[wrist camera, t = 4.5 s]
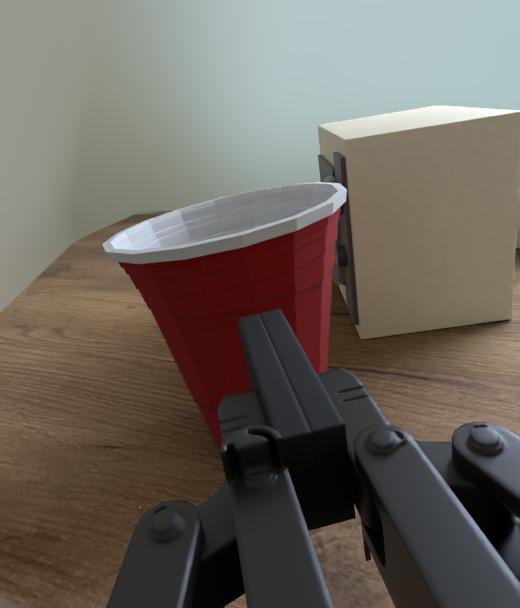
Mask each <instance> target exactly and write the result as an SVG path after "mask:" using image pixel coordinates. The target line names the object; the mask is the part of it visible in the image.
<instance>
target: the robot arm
mask: <svg viewBox="0 0 520 608" xmlns="http://www.w3.org/2000/svg"><path fill="white" fill-rule="evenodd" d="M237 320H238V325H239V330H240V335H241V340H242V346H243V351H244V356H245V361H246V366H247V371H248V376H249V381H250V386H251V391H247V392H243V393H238V394H234V395H230V396H226V397H223V398H222V400H221V402H220V405H219V407H218V409H217V410H218V416H219V422H220V429H221V435H222V441H223V443H222V444H221V451H220V454H221V458H222V462H223V466H224V470H225V474H226V480H225V483H224V484H223V486H222V487H221V489H220V490H219V491H218V492H217V493H216V494H215V495H214V496H212V497H211V498H209V499H208V500H206V501H205V502H203V503H201V504H199V505H197V506H194V505H193V504H191V503H189V502H187V501H183V500H171V501H166V502H162V503H160V504H158V505H156V506H154V507H153V508H151V509H150V510H148V511H147V512H146V513H145V514H144V515H143V516H142V517H141V518H140V520H139V522H138V523H137V525H136V527H135V529H134V532H133V535H132V538H131V540H130V543H129V546H128V549H127V551H126V554H125V557H124V560H123V563H122V565H121V568H120V571H119V574H118V576H117V579H116V582H115V585H114V587H113V590H112V593H111V596H110V599H109V601H108V604H107V607H106V608H224V606H226V605H228V604H229V603H231V602H232V601H234V600H235V599H237V598H238V597H240V596H241V595H243V594H244V593H245V595H246V601H247V607H248V608H334V606H333V603H332V600H331V597H330V594H329V591H328V588H327V585H326V582H325V579H324V576H323V573H322V570H321V567H320V564H319V561H318V558H317V555H316V552H315V549H314V546H313V543H312V540H311V537H310V534H309V530H313V529H316V528H320V527H324V526H328V525H331V524H335V523H339V522H343V521H346V520H350V519H354V518H355V509H354V504H355V506H356V508H357V510H358V512H359V514H360V517H361V523H362V533H363V543H364V552H365V557H366V561H368V560H371V555H370V552H371V554H372V556H373V558H374V561H375V563H376V565H377V567H378V569H379V572H380V574H381V576H382V578H383V581H384V583H385V585H386V587H387V589H388V592H389V594H390V596H391V598H392V600H393V603H394V605H395V607H396V608H520V437H519V436H517V435H516V434H514V433H513V432H511V431H509V430H508V429H505V428H503V427H501V426H499V425H496V424H491V423H486V422H472V423H468V424H465V425H462V426H460V427H459V428H458V429H456V430H455V431H454V434H453V436H452V442H423V441H417V440H414V439H413V437H412V436H411V435H410V434H408V433H407V432H406V431H405V430H403V429H401V428H399V427H396V426H392V425H391V424H390V423H389V421H388V420H387V418H386V417H385V416H384V414H383V413H382V411H381V410H380V408H379V407H378V406H377V404H376V403H375V401H374V400H373V399H372V397H371V396H370V395H369V393H368V391H367V390H366V389H365V387H363V384H362V383H361V382H360V380H359V379H358V377H357V376H356V375H355V374H353V373H351V372H349V371H348V370H346V369H344V368H340V369H335V370H331V371H327V372H323V373H318V374H317V373H316V371H315V370H314V368H313V366H312V364H311V362H310V361H309V359H308V357H307V355H306V353H305V352H304V350H303V348H302V346H301V345H300V343H299V341H298V339H297V337H296V336H295V334H294V332H293V330H292V328H291V327H290V325H289V323H288V321H287V320H286V318H285V316H284V314H283V312H282V311H281V309H278V310H274V311H269V312H265V313H260V314H256V315H251V316H247V317H242V318H237Z"/></svg>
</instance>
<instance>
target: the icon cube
mask: <svg viewBox="0 0 520 608" xmlns="http://www.w3.org/2000/svg"><path fill="white" fill-rule="evenodd" d="M516 248H520V180H519V198H518V215H517V233H516Z"/></svg>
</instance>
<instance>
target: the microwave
mask: <svg viewBox="0 0 520 608" xmlns="http://www.w3.org/2000/svg"><path fill="white" fill-rule="evenodd" d="M318 133H319V143H320V153H321V155H318V159H319V169H320V179H321V182H326V183H340V184H341V185H342V186H343V187H344V188H346V189H347V195H346V202H345V203H344V204H343V205H342V206H341V207H340V208H341V212H340V213H339V221H338V222H337V240H336V241H335V264H334V266H333V279H334V282H335V283H336V284H337V285H339V287H340V290H341V292H342V295H343V297H344V300H345V302H346V304H347V308H348V310H349V313H350V315H351V318H352V320H353V323H354V325H355V326H356V329H357V331H358V334H359V336H360V338H361V340H362V339H369V338H377V337H384V336H391V335H399V334H406V333H413V332H421V331H428V330H435V329H443V328H450V327H457V326H465V325H472V324H479V323H487V322H494V321H501V320H509V319H512V304H513V286H514V269H515V251H516V233H517V215H518V198H519V180H520V111H518V110H503V109H487V108H472V107H457V106H442V105H437V106H431V107H424V108H418V109H412V110H406V111H400V112H394V113H388V114H382V115H376V116H370V117H364V118H357V119H352V120H345V121H339V122H333V123H327V124H321V125H318Z"/></svg>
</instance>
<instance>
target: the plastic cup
mask: <svg viewBox="0 0 520 608" xmlns="http://www.w3.org/2000/svg"><path fill="white" fill-rule="evenodd" d="M346 195H347V189H346V188H344V187H343V186H342V185H341V184H340V183H326V182H313V183H303V184H291V185H283V186H277V187H271V188H265V189H260V190H254V191H249V192H244V193H240V194H235V195H231V196H226V197H222V198H218V199H213V200H210V201H206V202H203V203H199V204H196V205H192V206H188V207H185V208H182V209H178V210H175V211H172V212H169V213H166V214H163V215H160V216H157V217H154V218H151V219H149V220H146V221H143V222H141V223H138V224H136V225H134V226H132V227H130V228H127V229H125V230H123V231H121V232H119V233H116V234H115V235H114V236H113V237H111V238H110V239H109V240H107V241H106V242H105V243H103V244H102V245H103V247H104V249H105V251H106V253H107V254H108V256H109V257H110V258H111V260H112V261H115V262H119V264H120V266H121V267H122V268H124V270H125V272H126V273H127V274H128V275H129V276H130V278H131V280H132V281H133V283H134V285H135V287H136V289H139V291H140V293H141V295H142V297H143V299H144V301H145V303H146V304H147V306H148V308H149V309H150V310H151V312H152V314H153V316H154V318H155V320H156V322H157V324H158V326H159V328H160V330H161V333H162V335H163V337H164V339H165V341H166V343H167V345H168V347H169V349H170V352H171V354H172V356H173V358H174V360H175V362H176V364H177V366H178V368H179V370H180V373H181V375H182V377H183V379H184V381H185V383H186V385H187V387H188V389H189V391H190V393H191V395H192V397H193V399H194V401H195V402H196V403H197V405H198V407H199V409H200V411H201V414H202V416H203V418H204V420H205V423H206V425H207V427H208V429H209V431H210V433H211V435H212V437H213V439H214V441H215V442H216V443H218V445H219V447H220V449H221V444H222V443H223V441H222V435H221V429H220V422H219V416H218V410H217V409H218V407H219V405H220V402H221V400H222V398H223V397H226V396H230V395H234V394H238V393H243V392H247V391H251V386H250V381H249V376H248V371H247V366H246V361H245V356H244V351H243V346H242V340H241V335H240V330H239V325H238V320H237V318H242V317H247V316H251V315H256V314H260V313H265V312H269V311H274V310H278V309H281V311H282V312H283V314H284V316H285V318H286V320H287V321H288V323H289V325H290V327H291V328H292V330H293V332H294V334H295V336H296V337H297V339H298V341H299V343H300V345H301V346H302V348H303V350H304V352H305V353H306V355H307V357H308V359H309V361H310V362H311V364H312V366H313V368H314V370H315V371H316V373H317V374H318V373H323V372H327V366H328V347H329V329H330V310H331V292H332V273H333V266H334V264H335V241H336V240H337V222H338V221H339V213H340V212H341V208H340V207H341V206H342V205H343V204H344V203H345V202H346Z"/></svg>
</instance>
